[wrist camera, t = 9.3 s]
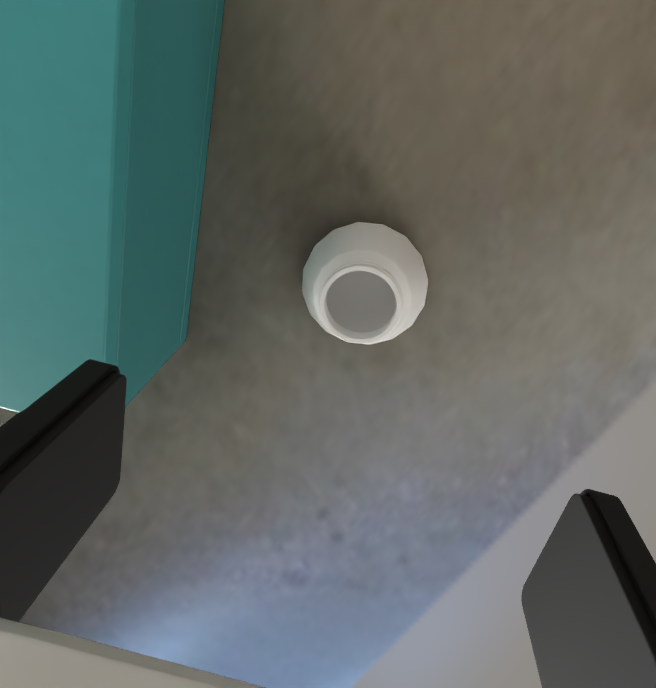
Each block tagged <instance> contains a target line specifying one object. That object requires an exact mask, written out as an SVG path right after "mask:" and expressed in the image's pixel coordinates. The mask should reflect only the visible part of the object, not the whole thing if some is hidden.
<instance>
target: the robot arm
mask: <svg viewBox="0 0 656 688" xmlns="http://www.w3.org/2000/svg"><path fill="white" fill-rule="evenodd" d="M126 385H127V379H126V376H125V375H122V374H120V370H119V368H118V367H117V366H115V365H112V364H108V363H104V362H100V361H96V360H93V359H89V360H87V361H85V362H84V363H83V364H81V365H80V366H79V367H78V368H76V369H75V370H74V371H73V372H71V373H70V374H69V375H67V376H66V377H65V378H64V379H62V380H61V381H60V382H59V383H57V384H56V385H55V386H54V387H52V388H51V389H50V390H49V391H47V392H46V393H45V394H44V395H42V396H41V397H40V398H39V399H37V400H36V401H35V402H34V403H32V404H31V405H30V406H29V407H27V408H26V409H25V410H23V411H21V412H20V413H18V414H16V415H15V416H14V417H13V418H11V419H10V420H9V421H8V422H6V423H5V424H4V425H2V426H1V427H0V688H265V687H261V686H257V685H254V684H250V683H246V682H243V681H239V680H235V679H232V678H228V677H224V676H221V675H217V674H213V673H210V672H206V671H202V670H198V669H195V668H191V667H187V666H184V665H180V664H176V663H172V662H169V661H165V660H161V659H158V658H154V657H150V656H146V655H143V654H139V653H135V652H132V651H128V650H124V649H120V648H117V647H113V646H109V645H105V644H102V643H98V642H94V641H91V640H87V639H83V638H79V637H75V636H71V635H67V634H63V633H59V632H55V631H51V630H47V629H43V628H39V627H35V626H31V625H27V624H23V623H19V620H20V619H21V618H22V616H23V615H24V614H25V612H26V611H27V610H28V608H29V607H30V606H31V604H32V603H33V602H34V600H35V599H36V598H37V596H38V595H39V593H40V592H41V591H42V589H43V588H44V587H45V585H46V584H47V583H48V581H49V580H50V579H51V577H52V576H53V575H54V573H55V572H56V571H57V569H58V568H59V567H60V565H61V564H62V563H63V561H64V560H65V559H66V557H67V556H68V555H69V553H70V552H71V551H72V549H73V548H74V547H75V545H76V544H77V543H78V541H79V540H80V539H81V537H82V536H83V535H84V533H85V532H86V531H87V529H88V528H89V527H90V525H91V524H92V523H93V521H94V520H95V519H96V517H97V516H98V515H99V513H100V512H101V511H102V509H103V508H104V507H105V505H106V504H107V503H108V501H109V500H110V499H111V497H112V496H113V495H114V493H115V491H116V489H117V487H118V484H119V480H120V472H121V458H122V443H123V428H124V414H125V399H126ZM522 605H523V610H524V614H525V618H526V622H527V627H528V631H529V635H530V639H531V643H532V648H533V652H534V656H535V660H536V664H537V668H538V672H539V676H540V681H541V685H542V688H656V563H655V561H654V560H653V558H652V556H651V554H650V552H649V551H648V549H647V547H646V545H645V543H644V542H643V540H642V538H641V536H640V535H639V533H638V531H637V529H636V527H635V525H634V524H633V522H632V520H631V518H630V517H629V515H628V513H627V511H626V509H625V508H624V506H623V504H622V502H621V501H620V499H619V498H618V497H616V496H613V495H609V494H605V493H602V492H598V491H594V490H590V489H586V490H584V491H583V492H582V493H581V494H574V495H573V496H572V497H571V498H570V500H569V502H568V504H567V506H566V507H565V510H564V511H563V513H562V515H561V517H560V519H559V521H558V522H557V524H556V526H555V528H554V530H553V532H552V534H551V536H550V537H549V539H548V541H547V543H546V545H545V547H544V549H543V550H542V552H541V554H540V556H539V558H538V560H537V562H536V564H535V566H534V567H533V569H532V571H531V573H530V575H529V577H528V579H527V581H526V582H525V584H524V587H523V590H522Z"/></svg>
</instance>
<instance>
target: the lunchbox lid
mask: <svg viewBox="0 0 656 688" xmlns="http://www.w3.org/2000/svg"><path fill="white" fill-rule="evenodd" d="M134 5H135V0H0V408H4V409H8V410H11V411H15V412H19V413H20V412H21V411H23V410H25V409H26V408H27V407H29V406H30V405H31V404H32V403H34V402H35V401H36V400H37V399H39V398H40V397H41V396H42V395H44V394H45V393H46V392H47V391H49V390H50V389H51V388H52V387H54V386H55V385H56V384H57V383H59V382H60V381H61V380H62V379H64V378H65V377H66V376H67V375H69V374H70V373H71V372H73V371H74V370H75V369H76V368H78V367H79V366H80V365H81V364H83V363H84V362H85V361H87V360H89V359H93V360H96V361H100V362H104V363H108V364H112V365H115V366H116V349H117V330H118V311H119V291H120V272H121V253H122V234H123V215H124V196H125V177H126V158H127V138H128V119H129V100H130V81H131V62H132V43H133V24H134Z"/></svg>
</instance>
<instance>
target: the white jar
mask: <svg viewBox="0 0 656 688" xmlns="http://www.w3.org/2000/svg"><path fill="white" fill-rule="evenodd" d="M427 287H428V278H427V274H426V270H425V267H424V263H423V259H422V256H421V254H420V253H419V252H418V251H417V250H416V248H415V247H414V246H413V245H412V243H411V242H410V241H409V240H408V238H407V237H406V236H404V235H402V234H401V233H399V232H397V231H395V230H393V229H391V228H389V227H387V226H386V225H384V224H374V223H363V222H356V223H353V224H350V225H347V226H343V227H340V228H337V229H334V230H333V231H331V232H330V233H329V234H328V235H327V236H325V237H324V238H323V239H322V240H321V241H320V242H318V243H317V244H316V245H315V246H314V248H313V250H312V252H311V254H310V256H309V258H308V260H307V262H306V264H305V266H304V268H303V283H302V294H303V296H304V299H305V302H306V304H307V307H308V310H309V313H310V315H311V316H312V317H313V318H314V319H315V320H316V321H317V322H318V324H319V325H320V326H321V327H322V328H323V329H324V330H325V331H326V332H328V333H330V334H332V335H334V336H336V337H338V338H340V339H342V340H344V341H346V342H351V343H360V344H368V345H371V344H375V343H379V342H383V341H387V340H391V339H393V338H395V337H396V336H398V335H399V334H400V333H402V332H403V331H405V330H406V329H408V328H409V327H410V326H412V325H413V323H414V321H415V320H416V318H417V317H418V315H419V313H420V312H421V310H422V309H423V307H424V305H425V300H426V293H427Z"/></svg>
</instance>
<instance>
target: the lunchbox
mask: <svg viewBox="0 0 656 688" xmlns="http://www.w3.org/2000/svg"><path fill="white" fill-rule="evenodd" d="M224 1H225V0H135V5H134V24H133V43H132V62H131V81H130V100H129V119H128V138H127V158H126V177H125V196H124V215H123V234H122V253H121V272H120V291H119V311H118V330H117V349H116V366H117V367H118V368H119V370H120V374H122V375H125V376H126V379H127V385H126V399H125V407H126V406H127V405H128V404H129V402H130V401H131V400H132V399H133V398H134V397H135V396H136V395H137V394H138V392H139V391H140V390H141V389H142V388H143V387H144V386H145V385H146V383H147V382H148V381H149V380H150V379H151V378H152V377H153V376H154V375H155V373H156V372H157V371H158V370H159V369H160V368H161V367H162V366H163V364H164V363H165V362H166V361H167V360H168V359H169V358H170V357H171V356H172V354H173V353H174V352H175V351H176V350H177V349H178V348H179V346H181V345H182V344H183V342H184V341H185V340H186V335H187V326H188V317H189V309H190V300H191V291H192V282H193V273H194V265H195V256H196V247H197V238H198V229H199V221H200V212H201V203H202V194H203V185H204V177H205V168H206V159H207V150H208V141H209V133H210V124H211V115H212V106H213V98H214V89H215V80H216V71H217V62H218V54H219V45H220V36H221V27H222V18H223V10H224Z"/></svg>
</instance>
